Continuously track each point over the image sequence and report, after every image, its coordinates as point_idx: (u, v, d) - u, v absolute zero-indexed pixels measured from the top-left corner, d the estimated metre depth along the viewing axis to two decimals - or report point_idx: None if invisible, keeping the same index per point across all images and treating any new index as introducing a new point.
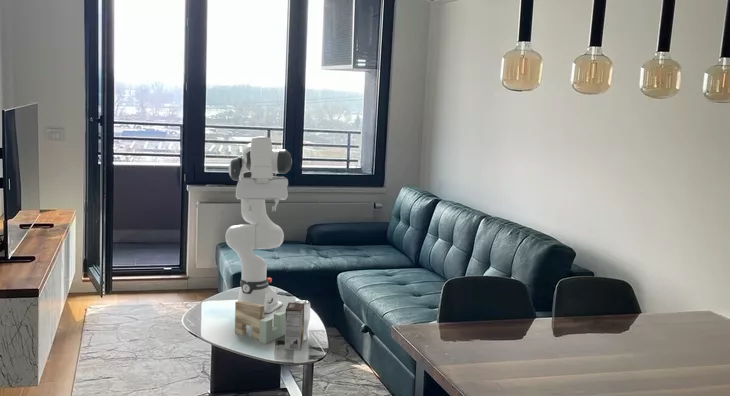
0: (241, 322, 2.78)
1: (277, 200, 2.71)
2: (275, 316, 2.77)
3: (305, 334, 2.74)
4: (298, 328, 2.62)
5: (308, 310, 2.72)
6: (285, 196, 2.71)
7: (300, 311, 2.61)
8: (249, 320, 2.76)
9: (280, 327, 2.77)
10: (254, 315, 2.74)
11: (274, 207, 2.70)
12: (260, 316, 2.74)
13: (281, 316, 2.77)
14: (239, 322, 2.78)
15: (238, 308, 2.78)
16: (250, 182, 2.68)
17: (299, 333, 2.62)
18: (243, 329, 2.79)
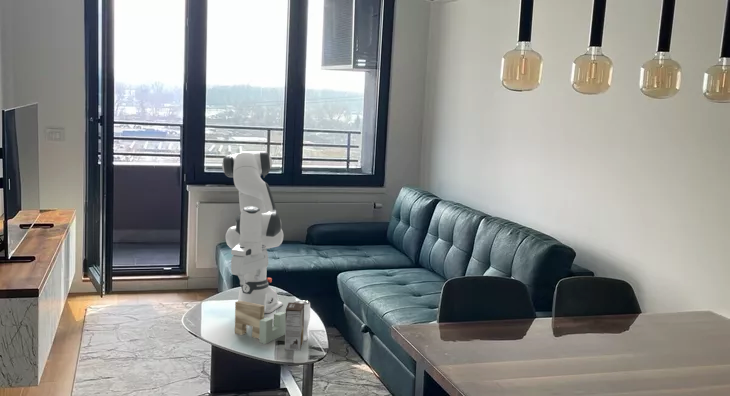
0: (241, 322, 2.78)
1: (261, 270, 2.80)
2: (275, 316, 2.77)
3: (305, 334, 2.74)
4: (298, 328, 2.62)
5: (308, 310, 2.72)
6: (267, 265, 2.82)
7: (300, 311, 2.61)
8: (249, 320, 2.76)
9: (280, 327, 2.77)
10: (254, 315, 2.74)
11: (259, 277, 2.79)
12: (260, 316, 2.74)
13: (281, 316, 2.77)
14: (239, 322, 2.78)
15: (238, 308, 2.78)
16: (248, 258, 2.69)
17: (299, 333, 2.62)
18: (243, 329, 2.79)
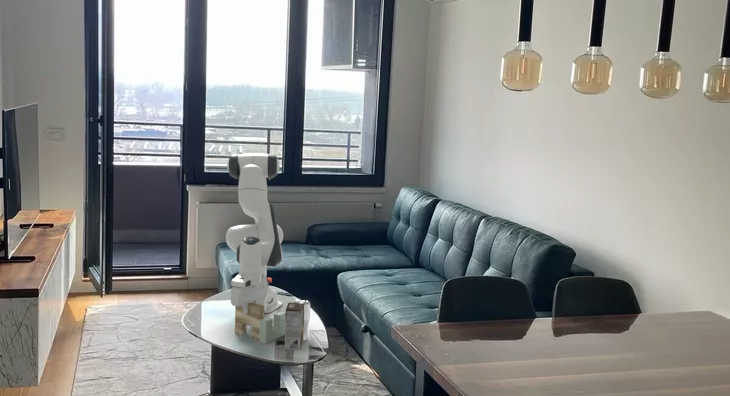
0: (241, 322, 2.78)
1: (257, 300, 2.79)
2: (275, 316, 2.77)
3: (305, 334, 2.74)
4: (298, 328, 2.62)
5: (308, 310, 2.72)
6: (266, 294, 2.84)
7: (300, 311, 2.61)
8: (249, 320, 2.76)
9: (280, 327, 2.77)
10: (254, 315, 2.74)
11: None
12: (260, 316, 2.74)
13: (281, 316, 2.77)
14: (239, 322, 2.78)
15: (238, 308, 2.78)
16: (247, 289, 2.71)
17: (299, 333, 2.62)
18: (243, 329, 2.79)
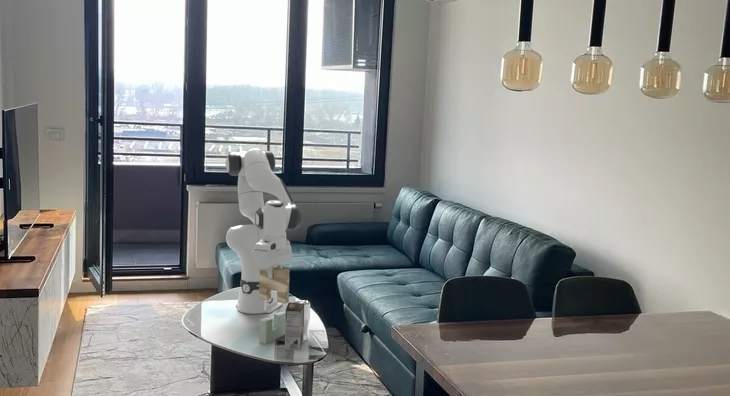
0: (265, 287, 2.73)
1: (281, 265, 2.74)
2: (275, 316, 2.77)
3: (305, 334, 2.74)
4: (298, 328, 2.62)
5: (308, 310, 2.72)
6: (290, 259, 2.79)
7: (300, 311, 2.61)
8: (274, 285, 2.71)
9: (280, 327, 2.77)
10: (278, 279, 2.70)
11: None
12: (285, 280, 2.69)
13: (281, 316, 2.77)
14: (263, 287, 2.73)
15: (262, 273, 2.73)
16: (272, 252, 2.66)
17: (299, 333, 2.62)
18: (267, 294, 2.74)
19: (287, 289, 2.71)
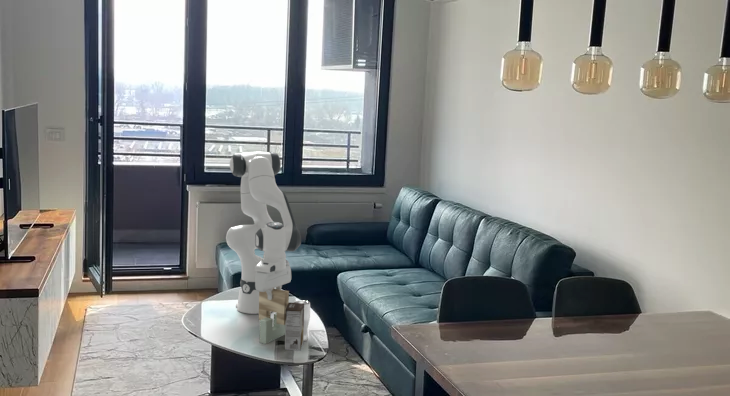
0: (265, 308, 2.74)
1: (280, 286, 2.76)
2: (275, 316, 2.77)
3: (305, 334, 2.74)
4: (298, 328, 2.62)
5: (308, 310, 2.72)
6: (290, 280, 2.80)
7: (300, 311, 2.61)
8: (274, 306, 2.72)
9: (280, 327, 2.77)
10: (278, 301, 2.71)
11: None
12: (285, 302, 2.70)
13: None
14: (263, 308, 2.74)
15: (262, 294, 2.74)
16: (272, 274, 2.67)
17: (299, 333, 2.62)
18: (267, 315, 2.75)
19: None
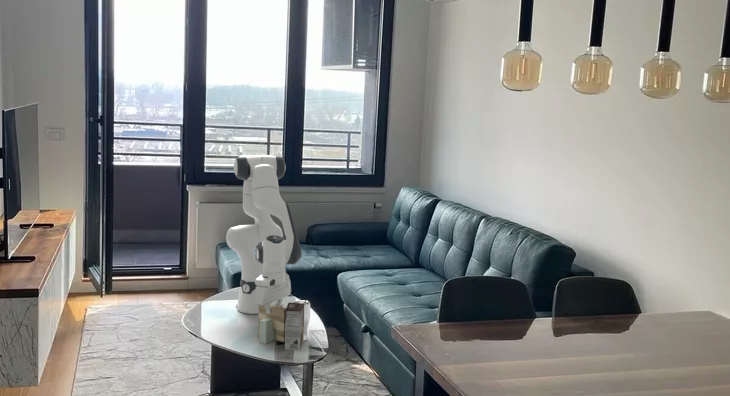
0: None
1: (281, 299, 2.77)
2: None
3: (305, 334, 2.74)
4: (298, 328, 2.62)
5: (308, 310, 2.72)
6: (289, 293, 2.81)
7: (300, 311, 2.61)
8: (273, 323, 2.73)
9: None
10: (277, 318, 2.72)
11: None
12: (284, 319, 2.71)
13: None
14: None
15: (262, 311, 2.75)
16: (271, 288, 2.68)
17: (299, 333, 2.62)
18: None
19: None
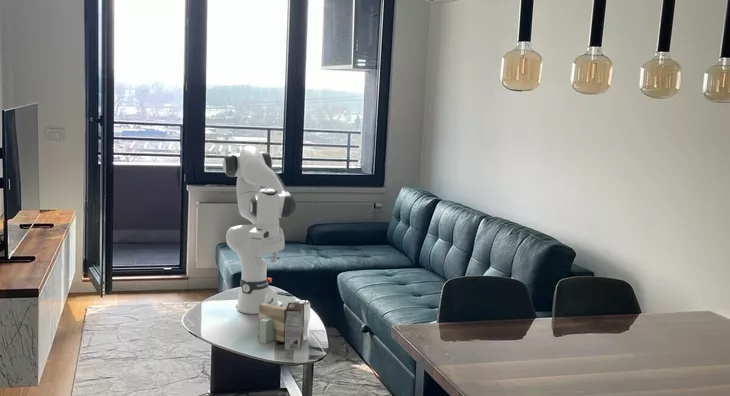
0: None
1: (277, 252, 2.77)
2: None
3: (305, 334, 2.74)
4: (298, 328, 2.62)
5: (308, 310, 2.72)
6: (283, 247, 2.79)
7: (300, 311, 2.61)
8: (273, 323, 2.73)
9: None
10: (278, 318, 2.72)
11: (275, 259, 2.77)
12: (284, 319, 2.71)
13: None
14: None
15: (262, 311, 2.75)
16: (265, 240, 2.66)
17: (299, 333, 2.62)
18: None
19: None
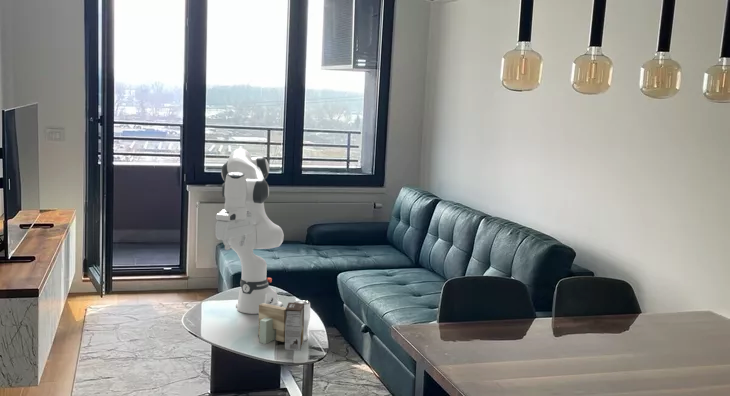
0: None
1: (246, 236, 2.80)
2: None
3: (305, 334, 2.74)
4: (298, 328, 2.62)
5: (308, 310, 2.72)
6: (252, 231, 2.82)
7: (300, 311, 2.61)
8: (273, 323, 2.73)
9: None
10: (278, 318, 2.72)
11: (244, 243, 2.80)
12: (284, 319, 2.71)
13: None
14: None
15: (262, 311, 2.75)
16: (232, 223, 2.69)
17: (299, 333, 2.62)
18: None
19: None
